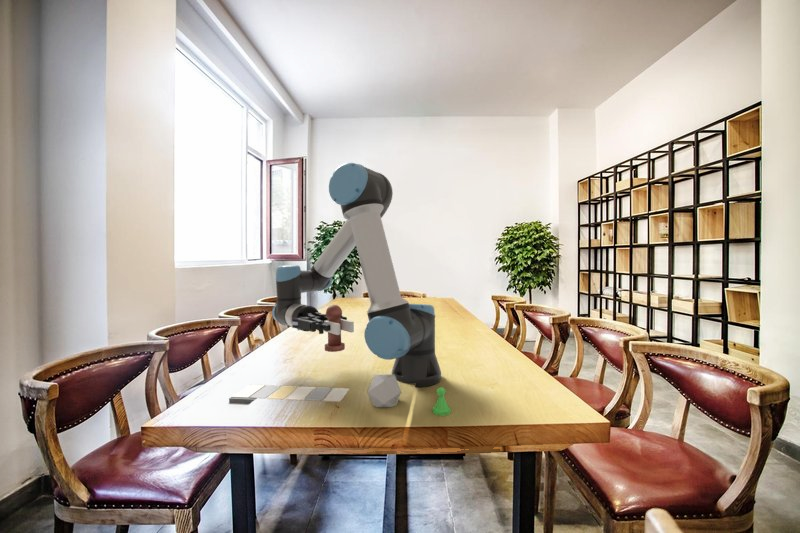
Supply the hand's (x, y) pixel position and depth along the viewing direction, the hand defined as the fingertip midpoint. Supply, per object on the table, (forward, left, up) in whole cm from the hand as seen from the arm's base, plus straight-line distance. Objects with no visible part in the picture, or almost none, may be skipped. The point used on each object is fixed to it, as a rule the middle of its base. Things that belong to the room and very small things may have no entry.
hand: (345, 328), depth 86 cm
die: (-10, 0, -20) cm, 22 cm away
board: (+16, -3, -20) cm, 26 cm away
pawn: (+4, -3, -6) cm, 8 cm away
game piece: (-24, +1, -20) cm, 31 cm away
